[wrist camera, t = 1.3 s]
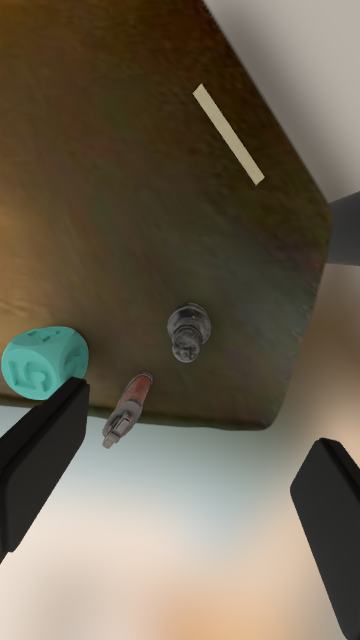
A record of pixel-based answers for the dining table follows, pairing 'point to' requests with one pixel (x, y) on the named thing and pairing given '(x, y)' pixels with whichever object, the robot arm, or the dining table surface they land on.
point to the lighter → (127, 409)
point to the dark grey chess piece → (188, 331)
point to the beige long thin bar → (228, 134)
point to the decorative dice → (44, 360)
